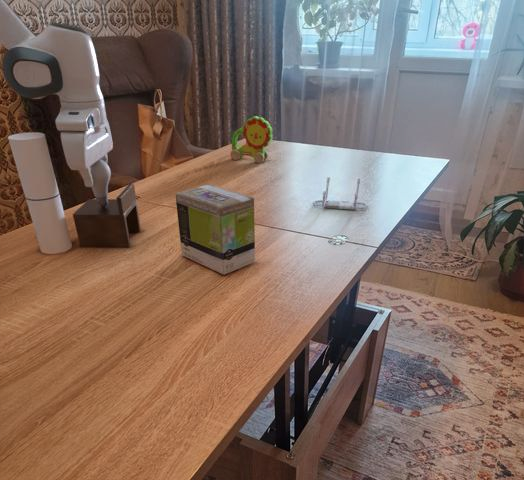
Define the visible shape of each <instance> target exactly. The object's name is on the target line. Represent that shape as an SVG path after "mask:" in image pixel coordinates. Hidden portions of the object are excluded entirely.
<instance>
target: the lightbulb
mask: <svg viewBox="0 0 524 480" xmlns="http://www.w3.org/2000/svg"><path fill="white" fill-rule="evenodd" d="M90 168H91V171H90V173H91V175H92V177H94V182H95V184H94V185H93V186H92V187H90V188H91V189H92V192H93V195H94V197H95V199H96V200H97V204H98V205H100V206H101V207H105V206H106V205H107V204H108V199H109V198H108V195H109V190H108V188H109V184H110V180H111V175H112V171H111V168H110V166H109V165H108V163H107V164H106V163H105V162H104V161H103V160H101V159H99V160H98V161H97V162H95V163H94V164H93V165H91V166H90Z"/></svg>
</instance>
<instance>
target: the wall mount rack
mask: <svg viewBox="0 0 524 480" xmlns="http://www.w3.org/2000/svg"><path fill="white" fill-rule="evenodd" d="M330 181H331V178H330V177H329V176H328V177H326V188H325V190H324V191H323V192H322V199H320V200H315V201H313V202H312V205H313V206H315V207H319V208H320V207H321V208H325V209H337V210H352V211H353V210H364V209H367V208H368V204H367V203H365V202H362V201H361V202H359V201H358V198H359V197H358V196H359V189H360V184H361V178H357V180H356V192H355V193H354V201H351V200H331V199H329V200H328V194H329V185H330ZM319 203H322V204H319ZM357 205H362V206H357Z"/></svg>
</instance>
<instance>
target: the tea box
mask: <svg viewBox="0 0 524 480" xmlns="http://www.w3.org/2000/svg"><path fill="white" fill-rule="evenodd" d="M174 196H175V203H176V213H177V223H178V233H179V242H180V251H181V256H183V257H184V258H187V259H189V260H191V261H193V262H195V263H197V264H200V265H201V266H204V267H206V268H208V269H210V270H212V271H215V272H218V273H219V274H221V275H224V276H225V275H227V274H230V273H232V272H234V271H237V270H240V269H242V268H245V267H247V266H249V265H251V264H253V263H255V261H256V244H255V243H256V239H255V238H256V237H255V235H256V234H255V233H256V232H255V197H253V196H251V195H247V194H243V193H239V192H236V191H234V190H231V189H230V190H229V189H226V188H223V187H220V186H217V185H213V184H208V183H207V184H205V185H202V186H201V185H200V186H197V187H194V188H189V189H186V190H182V191H179V192H175V195H174Z"/></svg>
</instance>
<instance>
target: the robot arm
mask: <svg viewBox="0 0 524 480" xmlns="http://www.w3.org/2000/svg"><path fill="white" fill-rule="evenodd" d="M0 42H1V44H2V45H3V46H4V47H5V48H6V49H7V51H6V52H5V53H4V55H3V57H2V61H1V62H2V63H1V70H2V75H3V77H4V80H5V82H6V83H7V85H8V86H9V88H10V89H11V90H12V91H13V92H15V93H16V94H18V95H19V96H21V97H23V98H26V99H31V100H38V99H43V98H45V97H48V96H52V95H57V96H58V97H59V102H60V109H59V112H58V115H57V116H56V118H55V126H56V129H57V131H59V132H60V141H61V146H62V150H63V154H64V157H65V161H66V164H67V166H68V167H69V169H70V170H71V171H78V172H79V174H80V176H81V177H82V179H83V184H84V186H85V187H86V188H91V187H92V186H93V185H94V184H95V182H94V177H92V175H91V173H90V171H91V168H90V166H91V165H93V164H94V163H95V162H97V161H98V160H99V159H101V160H103V161H104V162H105V163H106V164H107V165H108V153H110V151H111V152H112V150H113V149H114V148H113V147H114V141H113V136H112V131H111V127H110V123H109V120H108V117H107V112H106V111H107V110H106V105H105V99H104V94H103V93H102V90H101V86H100V76H101V75H100V69H99V64H98V63H99V62H98V58H97V53H96V49H95V45H94V43H93V40H92V38H91V35H90V34H89V33H88V32H87V31H86V30H85V29H84V28H81V27H79V26H76V25H72V24H69V23H68V24H67V23H60V22H52V23H49V24H48V25H47V26H46V28H45V29H43V30H42V31H41V32H40V33H38V34H36V33H35V32H34V31H33V30H32V29H31V28H30V27H29V26H27V24H26V22H24V20H22V18H21V17H20V16H19V14H17V13H16V12H15V10H13V8H12V7H11V6H10V5H9V4H8V2H7V1H6V0H0Z"/></svg>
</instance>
